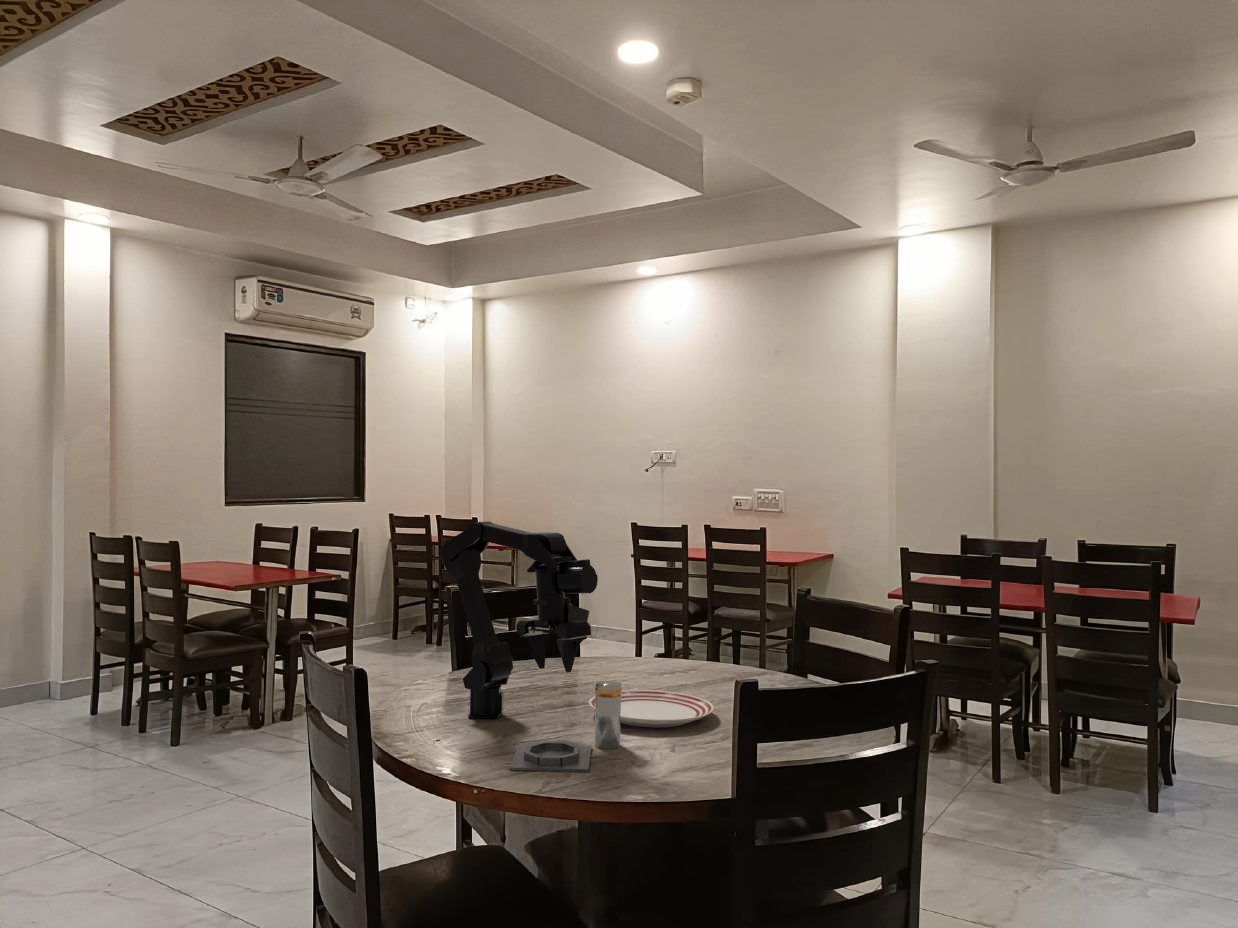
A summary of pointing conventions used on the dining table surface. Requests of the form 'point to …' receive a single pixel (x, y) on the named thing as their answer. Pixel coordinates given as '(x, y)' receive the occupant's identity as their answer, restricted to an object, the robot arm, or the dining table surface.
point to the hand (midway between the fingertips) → (555, 670)
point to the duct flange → (552, 757)
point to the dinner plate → (660, 708)
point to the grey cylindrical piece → (607, 714)
